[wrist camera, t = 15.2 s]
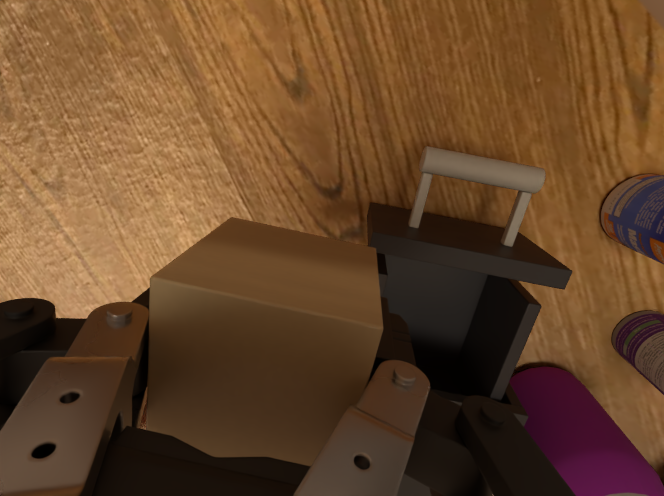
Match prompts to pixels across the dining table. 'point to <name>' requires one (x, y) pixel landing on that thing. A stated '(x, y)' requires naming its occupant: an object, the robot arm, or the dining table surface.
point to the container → (643, 344)
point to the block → (261, 340)
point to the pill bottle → (637, 215)
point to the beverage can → (581, 437)
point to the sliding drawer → (463, 277)
